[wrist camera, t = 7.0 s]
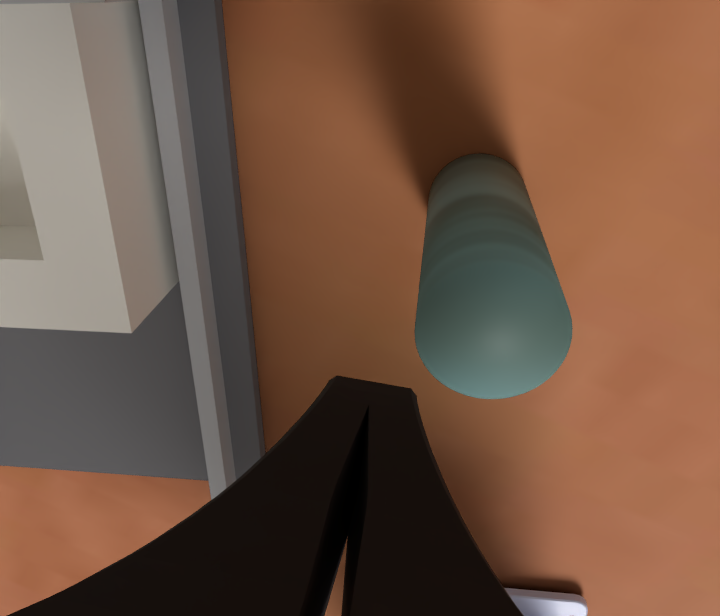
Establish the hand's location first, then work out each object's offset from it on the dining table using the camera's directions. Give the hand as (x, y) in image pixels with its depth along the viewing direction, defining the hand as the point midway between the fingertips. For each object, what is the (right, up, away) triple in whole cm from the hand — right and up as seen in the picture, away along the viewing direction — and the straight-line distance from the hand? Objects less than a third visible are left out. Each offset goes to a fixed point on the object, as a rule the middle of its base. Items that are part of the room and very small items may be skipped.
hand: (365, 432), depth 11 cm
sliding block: (-10, +7, +8) cm, 15 cm away
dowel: (+3, +5, +8) cm, 10 cm away
